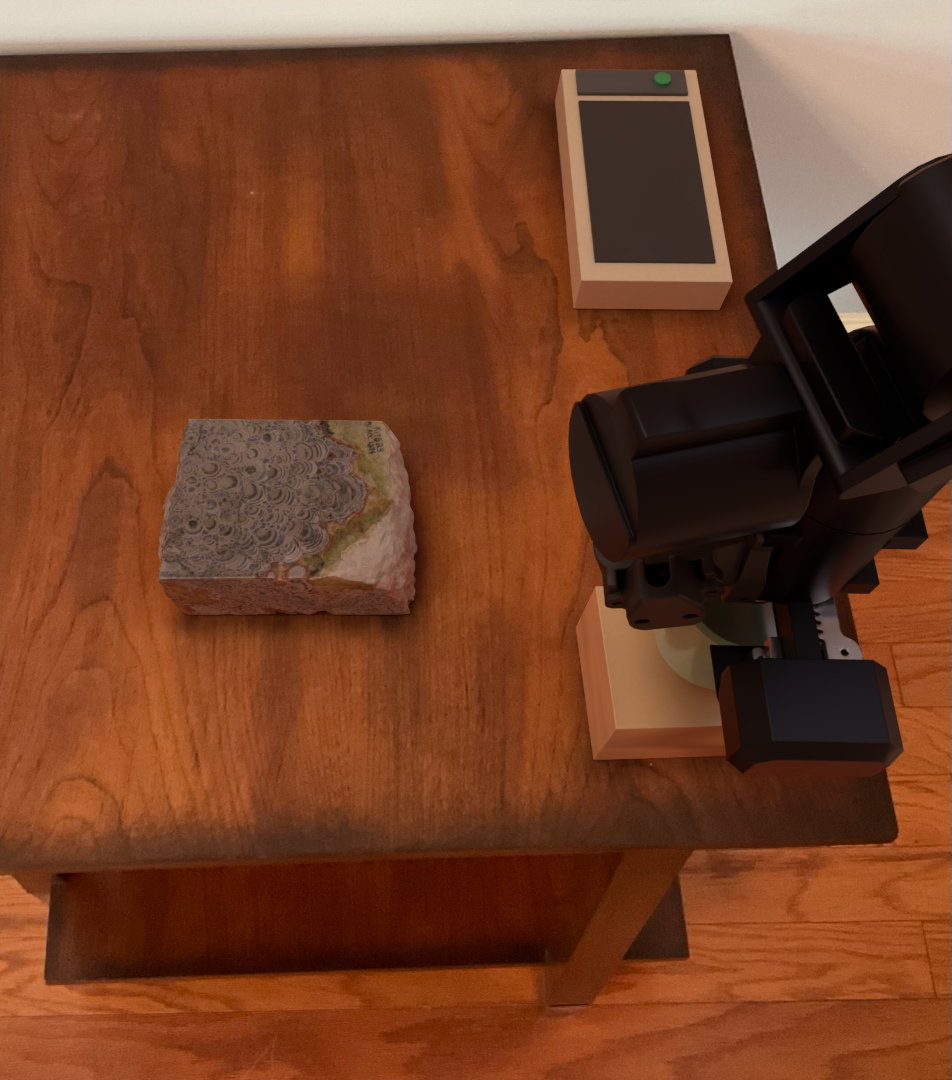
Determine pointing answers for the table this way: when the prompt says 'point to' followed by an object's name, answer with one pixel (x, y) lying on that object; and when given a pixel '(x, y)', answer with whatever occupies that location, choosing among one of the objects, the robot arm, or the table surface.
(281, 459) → the geological specimen
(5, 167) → the table surface
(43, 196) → the table surface
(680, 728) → the riser
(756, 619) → the cup
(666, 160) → the copier
